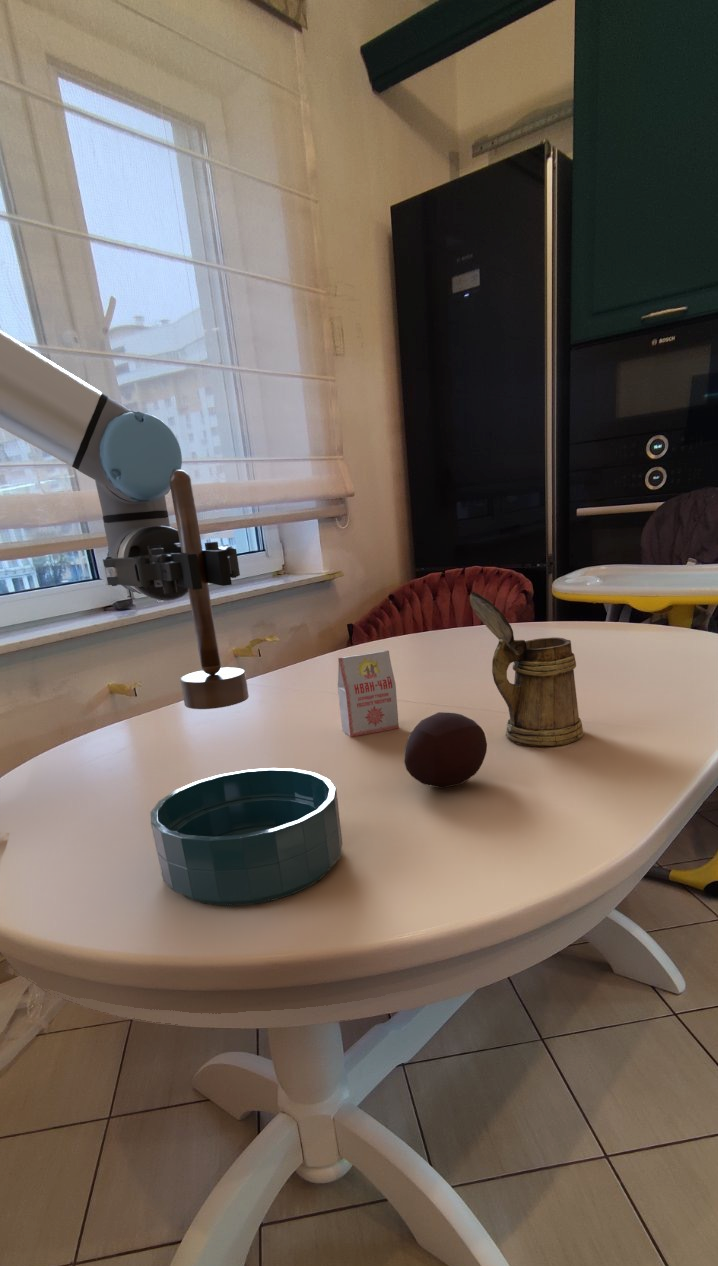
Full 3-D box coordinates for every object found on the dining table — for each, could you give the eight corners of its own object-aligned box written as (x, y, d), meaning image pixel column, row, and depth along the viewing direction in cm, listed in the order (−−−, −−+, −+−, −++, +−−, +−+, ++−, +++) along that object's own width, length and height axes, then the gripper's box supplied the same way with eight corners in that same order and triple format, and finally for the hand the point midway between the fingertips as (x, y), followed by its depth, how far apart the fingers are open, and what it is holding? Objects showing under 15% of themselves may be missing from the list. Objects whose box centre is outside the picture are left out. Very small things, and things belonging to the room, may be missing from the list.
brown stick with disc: (172, 709, 67) (127, 473, 59) (205, 692, 72) (167, 474, 64) (229, 709, 65) (190, 465, 57) (259, 692, 70) (227, 466, 62)
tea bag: (342, 730, 97) (334, 655, 94) (389, 721, 99) (383, 648, 95) (350, 736, 94) (342, 660, 90) (398, 728, 96) (393, 652, 92)
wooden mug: (459, 738, 89) (453, 588, 83) (557, 720, 92) (559, 574, 86) (491, 759, 81) (487, 594, 75) (597, 738, 84) (603, 578, 78)
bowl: (127, 900, 58) (110, 832, 56) (222, 823, 71) (212, 765, 69) (298, 920, 53) (287, 846, 51) (367, 832, 66) (361, 771, 64)
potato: (506, 783, 74) (505, 710, 71) (434, 808, 70) (429, 731, 67) (457, 765, 80) (454, 697, 78) (387, 786, 76) (381, 716, 73)
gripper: (229, 589, 83) (300, 604, 63) (95, 607, 78) (126, 630, 58) (218, 520, 80) (289, 512, 60) (79, 533, 75) (106, 530, 55)
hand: (209, 570), depth 59 cm, fingers closed on brown stick with disc, 2 cm apart
